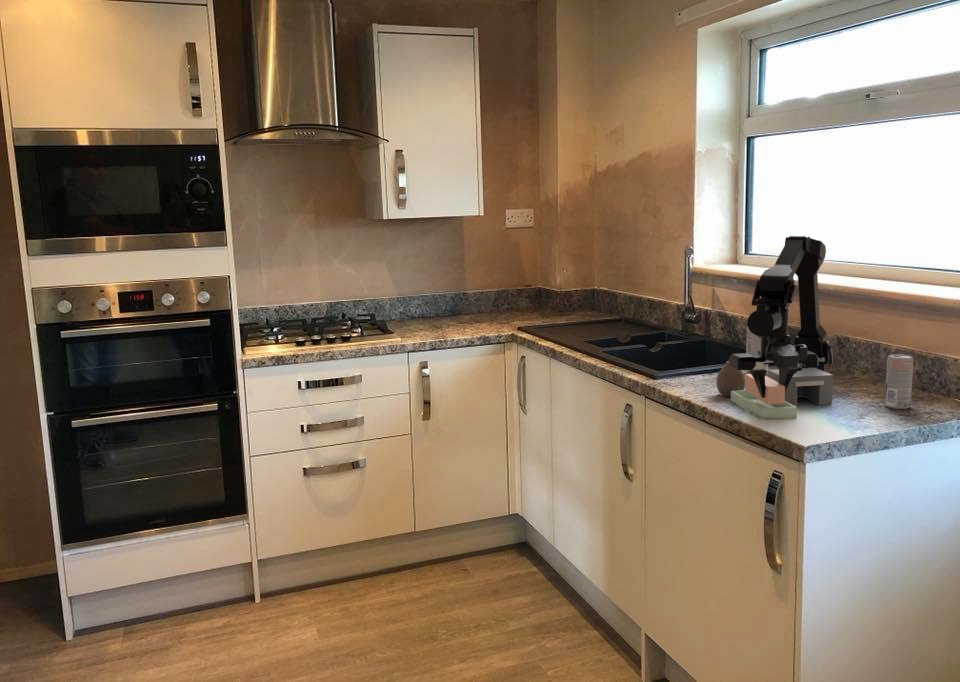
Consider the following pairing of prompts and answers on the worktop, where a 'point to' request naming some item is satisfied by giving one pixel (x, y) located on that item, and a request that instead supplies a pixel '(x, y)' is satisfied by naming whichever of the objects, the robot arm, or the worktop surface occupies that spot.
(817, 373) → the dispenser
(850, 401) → the worktop surface
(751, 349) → the energy drink can
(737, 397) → the tray
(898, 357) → the energy drink
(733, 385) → the vase
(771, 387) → the pink square pillar
